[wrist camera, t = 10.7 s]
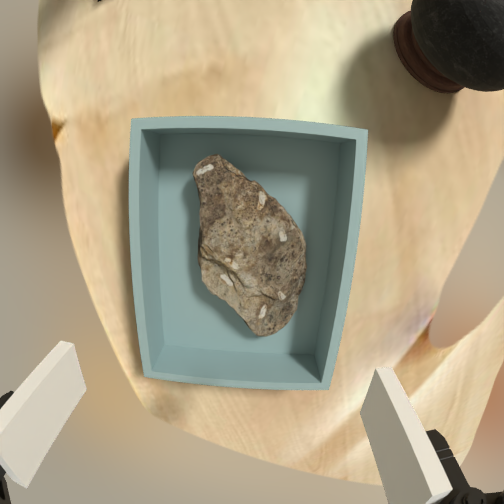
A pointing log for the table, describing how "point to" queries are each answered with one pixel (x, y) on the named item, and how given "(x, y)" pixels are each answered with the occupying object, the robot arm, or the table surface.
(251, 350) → the storage tub
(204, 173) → the rock
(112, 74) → the table surface
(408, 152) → the table surface
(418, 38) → the black globe on stand
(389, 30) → the table surface
